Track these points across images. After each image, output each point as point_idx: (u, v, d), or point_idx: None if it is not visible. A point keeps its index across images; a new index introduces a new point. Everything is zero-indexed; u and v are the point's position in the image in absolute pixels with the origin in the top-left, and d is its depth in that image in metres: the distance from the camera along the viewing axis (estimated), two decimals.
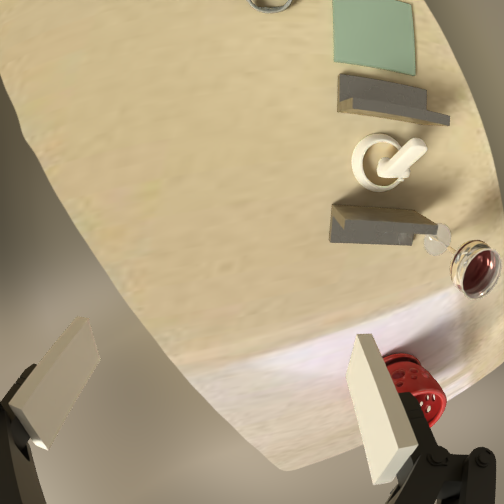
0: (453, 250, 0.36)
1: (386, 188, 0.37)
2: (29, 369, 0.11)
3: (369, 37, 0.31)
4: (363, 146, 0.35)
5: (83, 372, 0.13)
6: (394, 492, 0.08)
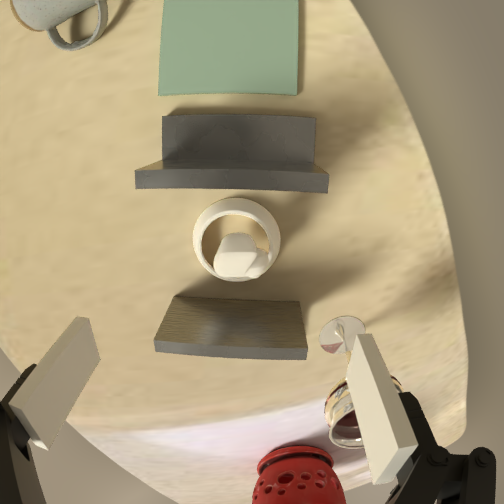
0: None
1: (243, 280, 0.27)
2: (28, 369, 0.11)
3: (215, 46, 0.21)
4: (202, 222, 0.26)
5: (83, 372, 0.13)
6: (394, 492, 0.08)
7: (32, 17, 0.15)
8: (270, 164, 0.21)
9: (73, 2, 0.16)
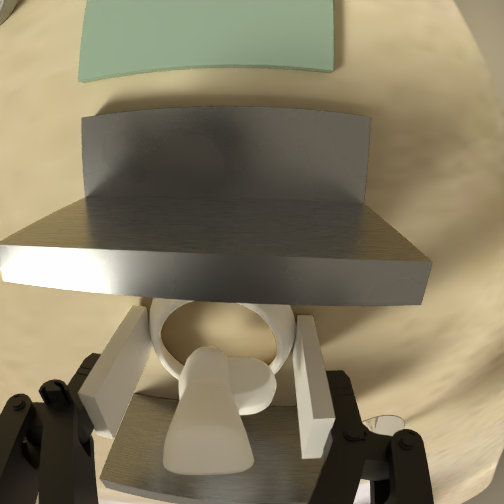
0: None
1: None
2: (88, 358, 0.12)
3: None
4: (158, 308, 0.14)
5: (141, 360, 0.14)
6: (321, 472, 0.09)
7: None
8: (284, 216, 0.10)
9: None
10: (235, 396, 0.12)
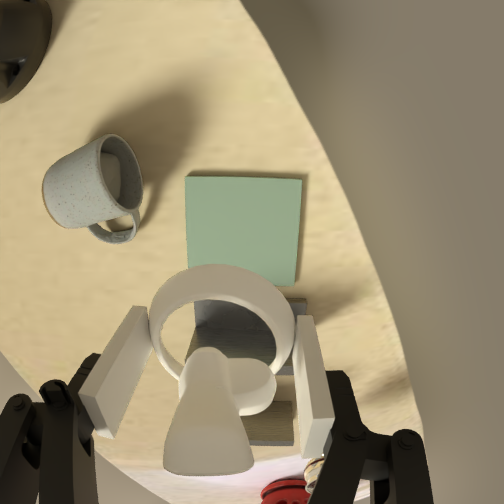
0: None
1: None
2: (88, 358, 0.12)
3: (232, 247, 0.32)
4: (158, 309, 0.14)
5: (141, 360, 0.14)
6: (321, 471, 0.09)
7: (73, 226, 0.26)
8: (272, 345, 0.32)
9: None
10: (235, 397, 0.12)
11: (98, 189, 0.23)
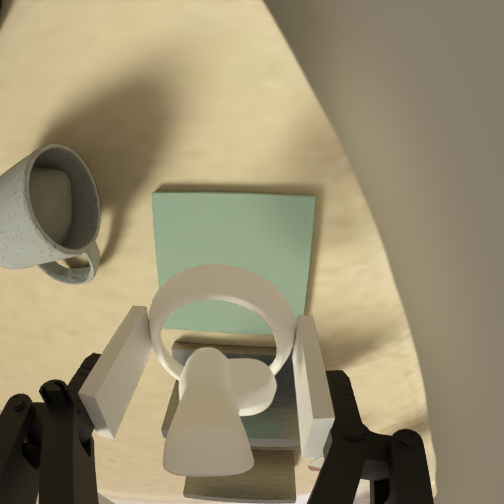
0: None
1: None
2: (88, 358, 0.12)
3: None
4: (158, 309, 0.14)
5: (141, 360, 0.14)
6: (320, 471, 0.09)
7: (14, 268, 0.18)
8: (272, 407, 0.24)
9: (56, 260, 0.19)
10: (235, 397, 0.12)
11: (28, 227, 0.14)
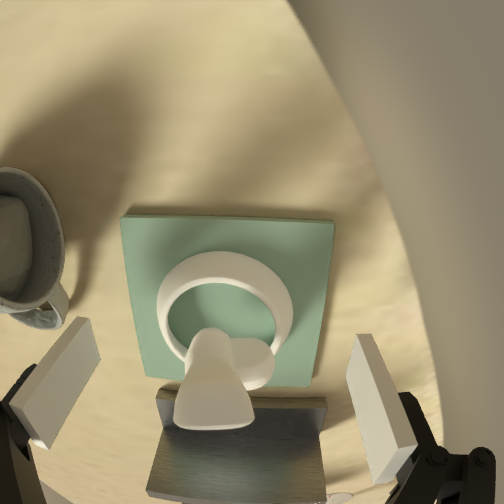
0: None
1: None
2: (29, 368, 0.11)
3: None
4: (166, 293, 0.16)
5: (83, 372, 0.13)
6: (394, 492, 0.08)
7: None
8: (274, 465, 0.18)
9: None
10: (237, 371, 0.13)
11: None
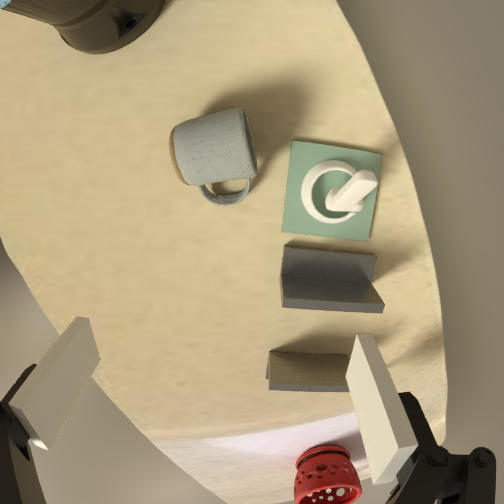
0: None
1: (337, 220, 0.36)
2: (28, 369, 0.11)
3: (323, 203, 0.37)
4: (313, 174, 0.34)
5: (83, 372, 0.13)
6: (394, 492, 0.08)
7: (196, 182, 0.32)
8: (351, 289, 0.37)
9: (233, 179, 0.32)
10: None
11: (241, 149, 0.28)
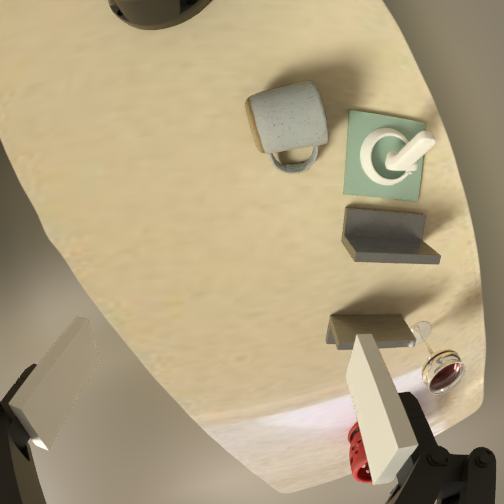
0: (429, 349, 0.43)
1: (394, 181, 0.37)
2: (29, 369, 0.11)
3: (379, 167, 0.38)
4: (372, 139, 0.35)
5: (83, 372, 0.13)
6: (394, 492, 0.08)
7: (273, 148, 0.33)
8: (408, 245, 0.38)
9: (306, 146, 0.34)
10: None
11: (319, 116, 0.30)
